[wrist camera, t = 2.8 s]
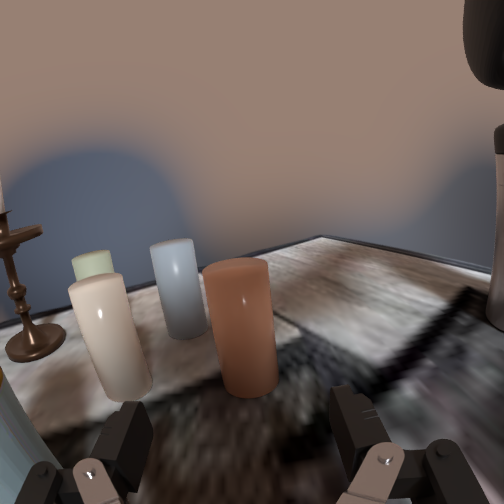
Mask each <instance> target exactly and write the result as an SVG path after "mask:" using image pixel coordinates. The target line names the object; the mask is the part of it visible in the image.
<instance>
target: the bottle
mask: <svg viewBox="0 0 504 504" xmlns="http://www.w3.org/2000/svg"><path fill="white" fill-rule="evenodd" d="M41 461H48V462H51V463H52V464H53V465H54V466H55V467H56V468H57V469H63V467H62V466H61V465H60V464H59V462H58V461H57V460H56V458H55V457H54V455H53V454H52V453H51V451H50V450H49V448H48V447H47V446H46V444H45V443H44V441H43V440H42V438H41V437H40V435H39V434H38V432H37V431H36V429H35V428H34V426H33V424H32V423H31V421H30V420H29V418H28V416H27V415H26V413H25V411H24V410H23V408H22V406H21V404H20V403H19V401H18V399H17V397H16V396H15V394H14V392H13V390H12V388H11V386H10V384H9V382H8V380H7V378H6V376H5V374H4V372H3V370H2V368H1V367H0V504H14V503H15V501H16V498H17V496H18V494H19V492H20V490H21V488H22V485H23V483H24V481H25V479H26V477H27V475H28V473H29V471H30V469H31V467H32V466H33V465H34V464H36V463H38V462H41Z"/></svg>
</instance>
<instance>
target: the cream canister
mask: <svg viewBox="0 0 504 504" xmlns="http://www.w3.org/2000/svg"><path fill="white" fill-rule="evenodd" d="M68 292H69V296H70V299H71V302H72V306H73V309H74V312H75V315H76V318H77V321H78V324H79V327H80V330H81V333H82V336H83V339H84V342H85V344H86V347H87V350H88V352H89V355H90V358H91V360H92V363H93V365H94V368H95V370H96V373H97V375H98V377H99V380H100V382H101V384H102V387H103V389H104V391H105V393H106V395H107V397H108V398H109V399H111V400H112V401H115V402H124V401H134V400H137V399H139V398H141V397H143V396H144V395H146V394H147V393H148V392H149V391H150V389H151V388H152V384H153V381H152V378H151V375H150V372H149V369H148V366H147V363H146V360H145V357H144V354H143V351H142V347H141V344H140V341H139V338H138V334H137V331H136V327H135V324H134V320H133V317H132V313H131V309H130V305H129V302H128V298H127V294H126V290H125V286H124V282H123V277H122V275H121V274H118V273H104V274H98V275H94V276H90V277H87V278H84V279H82V280H79V281H77V282H75V283H74V284H72V285H71V286H70V287H69V289H68Z"/></svg>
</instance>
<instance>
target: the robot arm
mask: <svg viewBox="0 0 504 504" xmlns="http://www.w3.org/2000/svg"><path fill="white" fill-rule="evenodd" d="M463 41H464V48H465V54H466V58H467V61H468V64H469V66H470V68H471V70H472V72H473V73H474V75H475V77H476V78H477V79H478V80H479V81H480V82H481V83H483V84H484V85H486V86H488V87H492V88H495V89H500V90H504V0H465V4H464V17H463ZM494 145H495V153H496V155H495V156H496V175H497V176H496V177H497V216H496V235H495V248H494V258H493V267H492V275H491V281H490V288H489V294H488V300H487V306H486V316H487V318H488V320H489V321H490V322H491V323H492V324H493V325H494V326H495V327H497V328H499V329H500V330H502V331H504V124H502V125H500V126H498V127H497V128H496V129H495V131H494ZM329 419H330V424H331V428H332V431H333V434H334V437H335V440H336V443H337V446H338V450H339V453H340V456H341V459H342V462H343V465H344V468H345V472H346V475H347V478H348V481H349V482H352V483H351V485H350V486H349V488H348V490H347V491H344V492H343V494H342V495H341V496H340V498H339V500H338V501H337V503H336V504H385V503H386V501H387V499H399V498H410V499H411V502H412V504H490V503H489V501H488V499H487V498H486V496H485V494H484V492H483V490H482V488H481V486H480V484H479V482H478V480H477V479H476V477H475V475H474V473H473V471H472V469H471V468H470V466H469V464H468V462H467V460H466V459H465V457H464V455H463V453H462V452H461V450H460V448H459V446H458V445H457V444H456V443H455V442H453V441H451V440H448V439H439V440H436V441H433V442H432V443H431V444H429V446H428V447H427V449H424V450H404V449H402V448H401V447H400V446H398V445H397V444H395V443H392V442H391V440H390V438H389V436H388V434H387V432H386V430H385V428H384V426H383V424H382V422H381V420H380V418H379V417H378V414H377V412H376V410H375V408H374V406H373V404H372V402H371V400H370V399H368V398H367V397H366V396H365V395H363V394H362V393H361V394H356V395H353V392H352V390H351V388H350V386H349V385H348V384H347V385H342V386H337V387H331V389H330V405H329ZM152 439H153V427H152V424H151V422H150V419H149V417H148V414H147V412H146V409H145V407H144V405H143V403H142V402H141V401H124V403H123V405H122V407H121V409H120V411H115V412H114V413H113V414H112V415H111V416H109V417H108V418H107V420H106V423H105V425H104V428H103V429H102V431H101V435H99V438H98V440H97V442H96V444H95V446H94V448H93V451H92V453H91V455H90V457H89V458H87V459H83V460H81V461H79V462H78V463H77V464H76V465H75V466H74V468H70V469H57V468H56V467H55V466H54V465H53V464H52V463H51V462H48V461H41V462H38V463H36V464H34V465H33V466H32V467H31V469H30V471H29V473H28V475H27V477H26V479H25V481H24V483H23V485H22V488H21V490H20V492H19V494H18V496H17V498H16V501H15V503H14V504H130V502H129V501H128V499H127V498H126V497H127V494H128V492H134V493H137V492H138V488H139V485H140V481H141V477H142V474H143V470H144V467H145V463H146V460H147V456H148V453H149V449H150V446H151V442H152Z"/></svg>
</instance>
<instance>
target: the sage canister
mask: <svg viewBox="0 0 504 504" xmlns="http://www.w3.org/2000/svg"><path fill="white" fill-rule="evenodd" d="M72 264H73V268H74V272H75V276H76V280H77V281H79V280H82V279H84V278H87V277H90V276H94V275H98V274H104V273H114V269H113V265H112V260H111V256H110V251H109V250H98V251H93V252H89V253H85V254H82V255H79V256H77V257H75V258H73V259H72Z"/></svg>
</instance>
